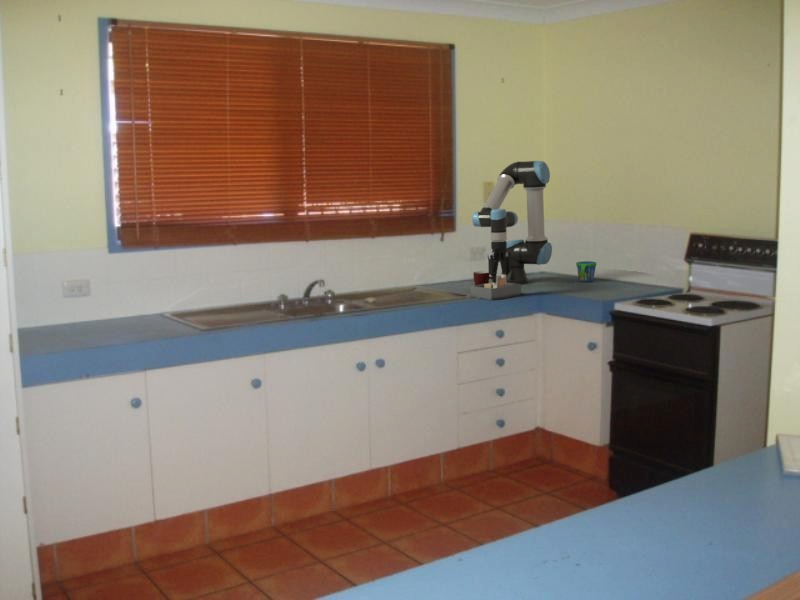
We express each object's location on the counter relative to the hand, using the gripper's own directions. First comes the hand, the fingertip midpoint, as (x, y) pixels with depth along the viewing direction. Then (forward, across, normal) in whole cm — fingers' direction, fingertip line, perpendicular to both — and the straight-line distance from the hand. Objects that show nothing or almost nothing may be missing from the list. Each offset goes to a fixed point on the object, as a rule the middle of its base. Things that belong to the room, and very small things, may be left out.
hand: (499, 288), depth 440 cm
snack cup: (+4, -65, -1) cm, 65 cm away
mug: (+4, -7, -19) cm, 21 cm away
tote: (+4, 0, -3) cm, 5 cm away
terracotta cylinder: (+2, 0, 0) cm, 2 cm away
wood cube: (+3, 0, -6) cm, 7 cm away
